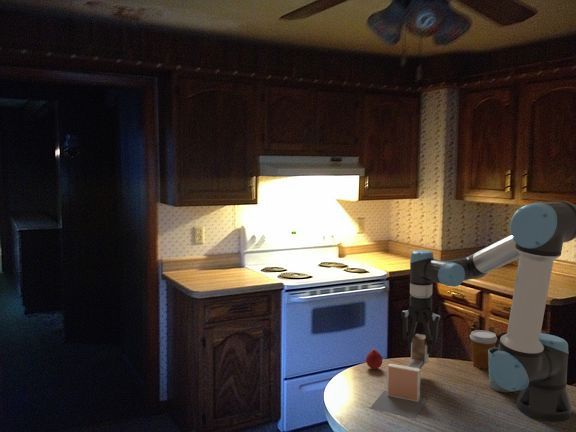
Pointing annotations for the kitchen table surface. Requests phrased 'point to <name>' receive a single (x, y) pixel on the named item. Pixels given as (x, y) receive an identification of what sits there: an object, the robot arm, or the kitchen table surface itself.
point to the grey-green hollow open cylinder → (491, 380)
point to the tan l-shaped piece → (417, 351)
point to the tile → (403, 382)
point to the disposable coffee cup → (482, 347)
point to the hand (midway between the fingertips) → (419, 360)
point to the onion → (374, 359)
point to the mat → (398, 405)
